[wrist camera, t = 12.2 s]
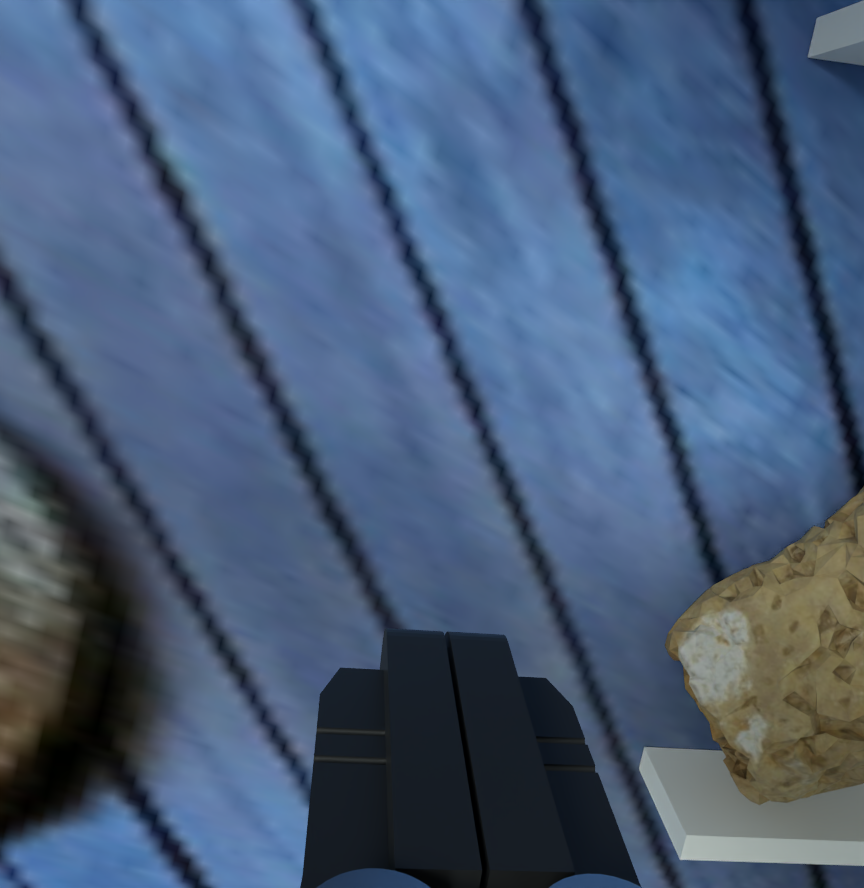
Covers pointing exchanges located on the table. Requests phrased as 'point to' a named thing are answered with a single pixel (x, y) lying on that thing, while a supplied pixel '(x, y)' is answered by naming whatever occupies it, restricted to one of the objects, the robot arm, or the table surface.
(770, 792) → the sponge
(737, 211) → the table surface
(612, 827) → the robot arm
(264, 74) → the table surface
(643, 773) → the box
